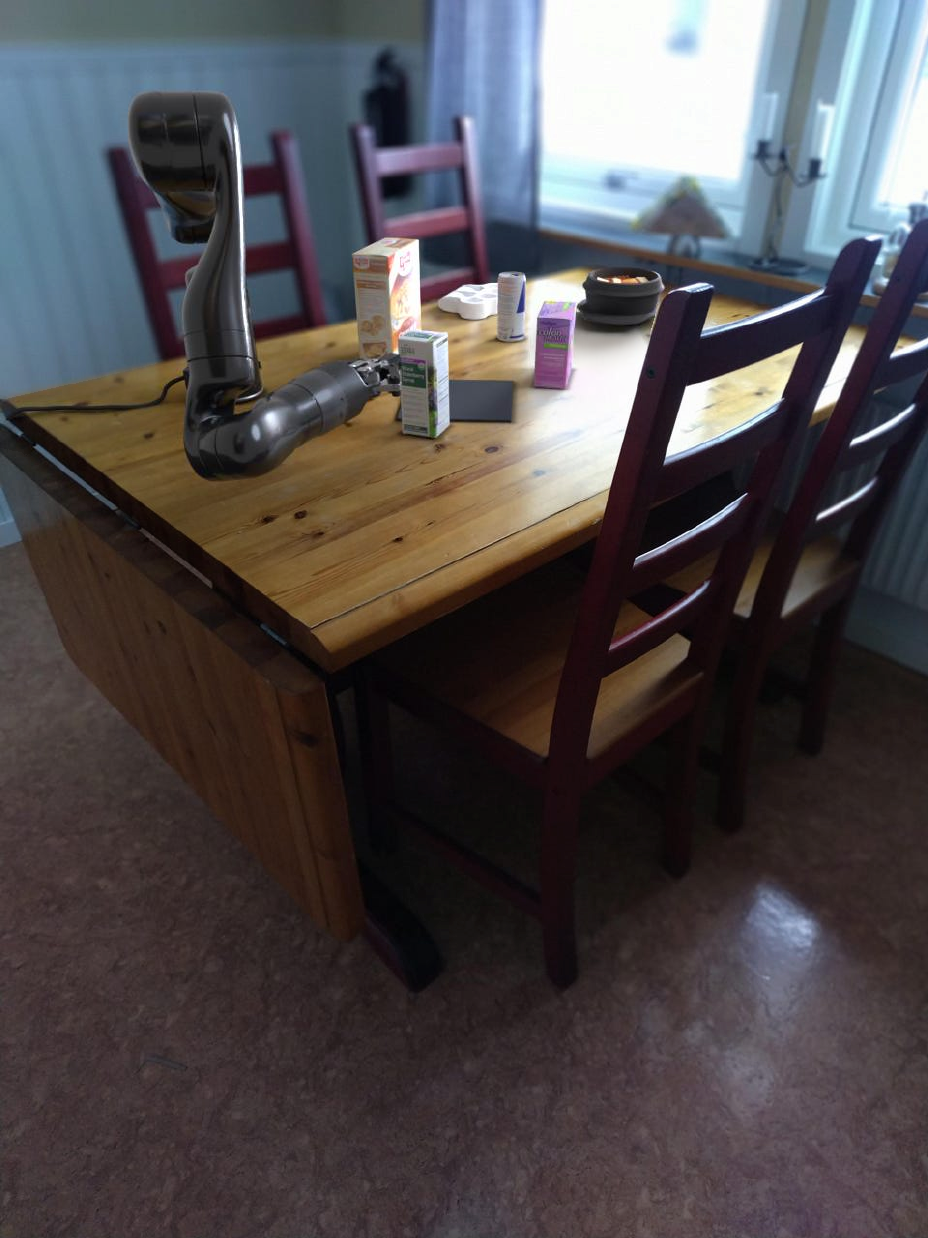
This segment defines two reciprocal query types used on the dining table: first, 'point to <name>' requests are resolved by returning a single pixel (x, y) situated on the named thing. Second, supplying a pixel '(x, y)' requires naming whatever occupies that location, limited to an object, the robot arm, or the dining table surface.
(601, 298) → the casserole
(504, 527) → the dining table surface
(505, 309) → the energy drink
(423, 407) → the syrup box
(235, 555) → the dining table surface
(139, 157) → the robot arm
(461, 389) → the mat
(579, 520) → the dining table surface
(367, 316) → the coffeecake box
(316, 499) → the dining table surface
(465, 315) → the white cupped tray
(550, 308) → the box
